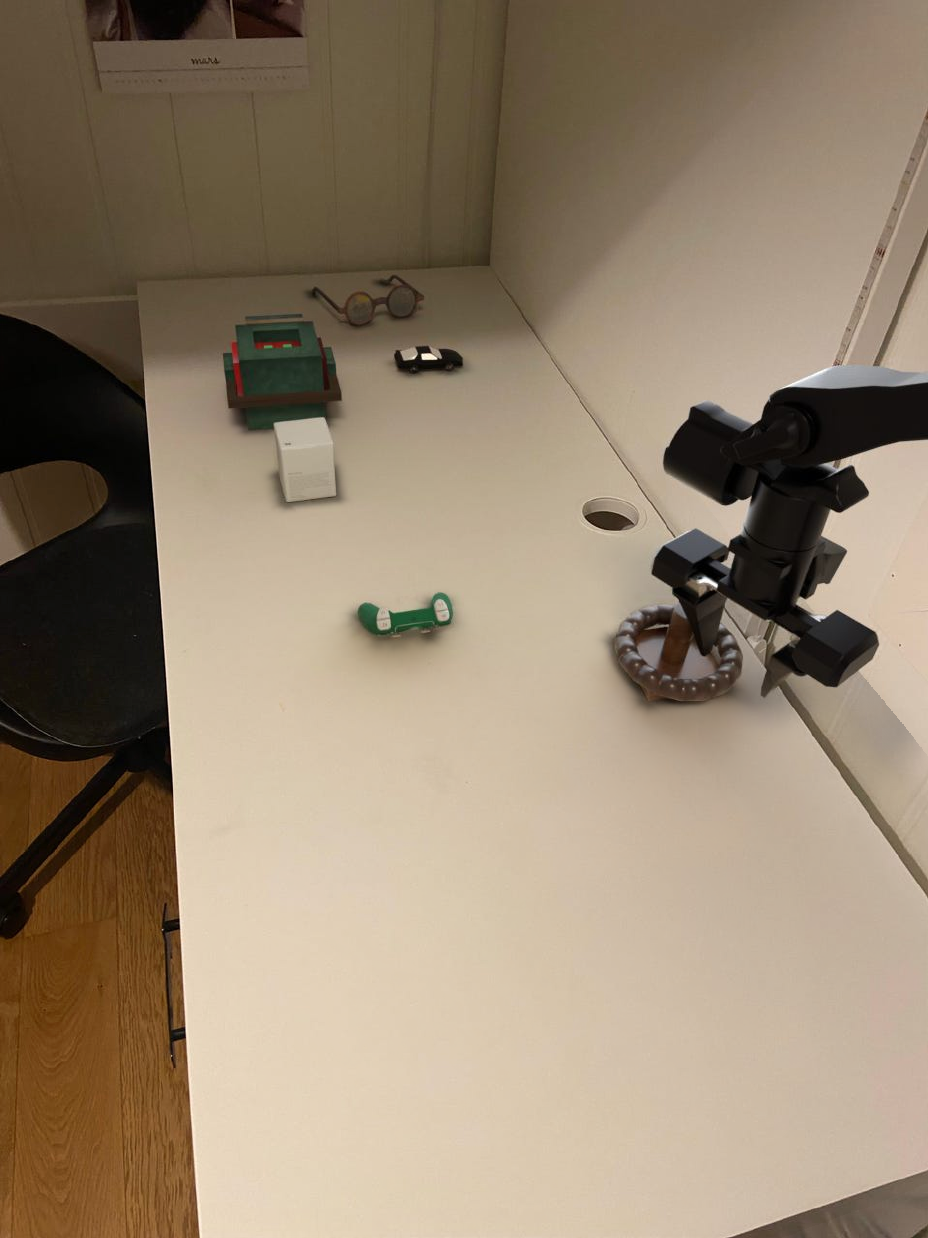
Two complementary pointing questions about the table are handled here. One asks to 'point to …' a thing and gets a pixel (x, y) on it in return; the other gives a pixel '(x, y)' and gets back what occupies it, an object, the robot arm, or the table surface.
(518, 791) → the table surface
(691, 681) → the ring
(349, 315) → the eyeglasses
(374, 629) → the gaming controller
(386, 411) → the table surface
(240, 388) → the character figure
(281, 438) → the product box
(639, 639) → the peg stand
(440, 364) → the toy car
